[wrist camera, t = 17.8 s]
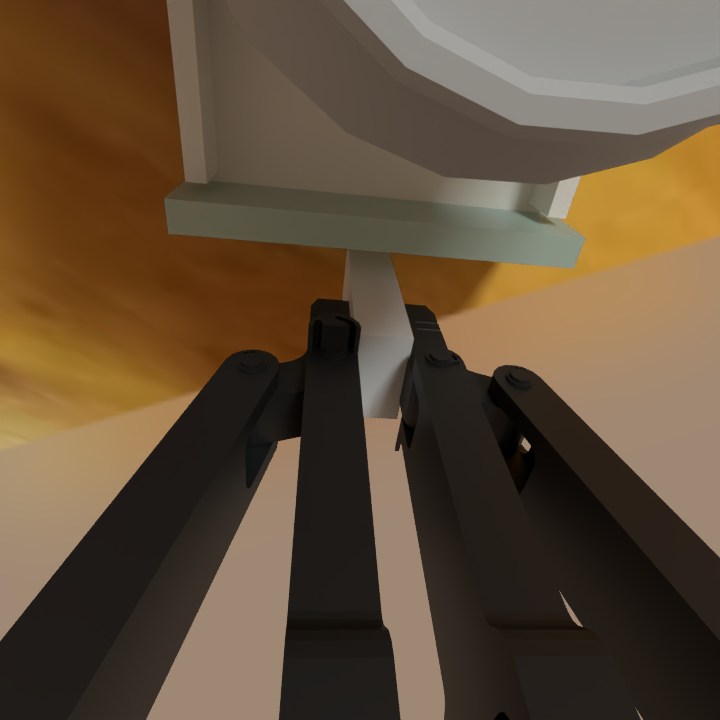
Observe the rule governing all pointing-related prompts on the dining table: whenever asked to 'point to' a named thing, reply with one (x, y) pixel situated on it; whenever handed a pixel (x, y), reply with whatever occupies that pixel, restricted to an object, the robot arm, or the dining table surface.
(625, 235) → the dining table surface
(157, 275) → the dining table surface
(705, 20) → the can
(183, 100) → the tray
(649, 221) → the dining table surface
